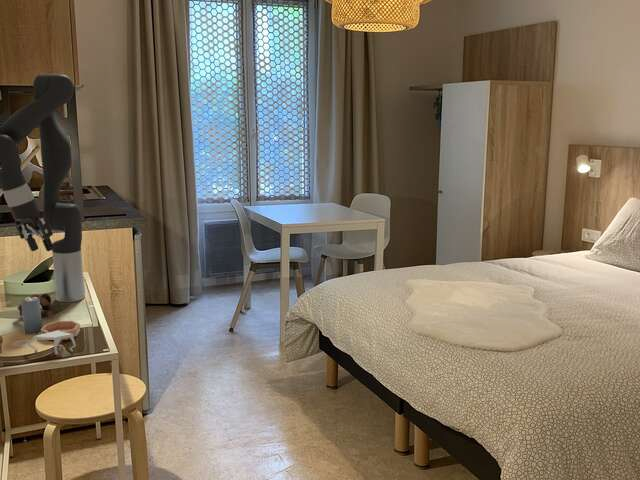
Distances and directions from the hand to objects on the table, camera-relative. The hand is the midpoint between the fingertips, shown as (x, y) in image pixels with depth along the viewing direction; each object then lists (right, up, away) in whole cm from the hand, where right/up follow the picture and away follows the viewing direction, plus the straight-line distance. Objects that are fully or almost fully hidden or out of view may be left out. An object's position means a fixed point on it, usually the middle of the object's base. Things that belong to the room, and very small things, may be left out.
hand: (42, 250), depth 199 cm
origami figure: (+10, -28, -18) cm, 35 cm away
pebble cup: (-1, -24, -4) cm, 25 cm away
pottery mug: (-5, -21, +9) cm, 24 cm away
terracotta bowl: (+8, -25, -7) cm, 27 cm away
